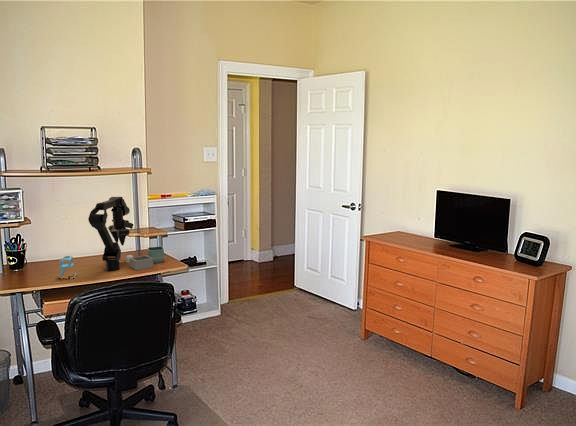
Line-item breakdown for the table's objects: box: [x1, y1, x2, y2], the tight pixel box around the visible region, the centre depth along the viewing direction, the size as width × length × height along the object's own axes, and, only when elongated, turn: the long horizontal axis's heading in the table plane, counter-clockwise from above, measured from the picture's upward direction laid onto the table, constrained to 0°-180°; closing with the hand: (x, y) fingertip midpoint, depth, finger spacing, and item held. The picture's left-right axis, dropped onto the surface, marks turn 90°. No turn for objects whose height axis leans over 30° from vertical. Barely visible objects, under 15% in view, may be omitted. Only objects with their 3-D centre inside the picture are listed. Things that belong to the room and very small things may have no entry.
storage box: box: [129, 254, 154, 271], centre depth 299 cm, size 10×10×6 cm
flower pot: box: [147, 245, 165, 264], centre depth 311 cm, size 9×9×9 cm
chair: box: [58, 255, 77, 278], centre depth 281 cm, size 8×8×12 cm
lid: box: [121, 254, 134, 264], centre depth 311 cm, size 11×11×5 cm
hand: (119, 244), depth 304 cm, fingers open, 9 cm apart
